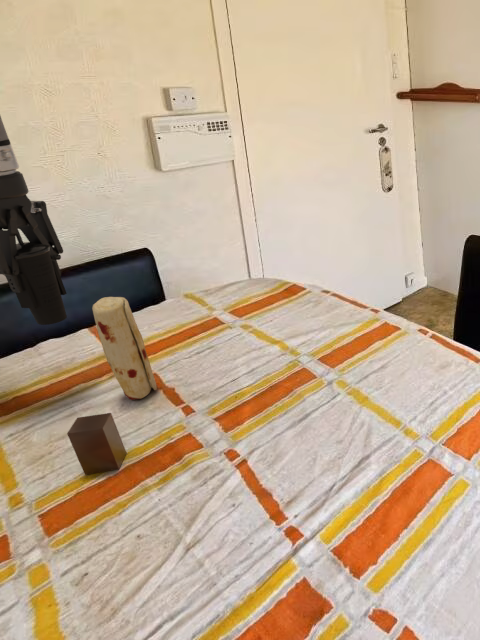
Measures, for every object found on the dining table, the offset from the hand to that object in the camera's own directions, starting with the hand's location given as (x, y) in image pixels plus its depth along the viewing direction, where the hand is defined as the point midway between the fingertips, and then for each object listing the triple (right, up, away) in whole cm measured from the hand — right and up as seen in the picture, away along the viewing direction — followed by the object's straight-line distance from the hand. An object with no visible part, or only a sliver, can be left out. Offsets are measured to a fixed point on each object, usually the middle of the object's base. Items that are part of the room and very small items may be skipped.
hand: (44, 300), depth 117 cm
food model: (+14, -18, +8) cm, 24 cm away
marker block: (+21, -29, -14) cm, 38 cm away
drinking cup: (0, -4, +2) cm, 4 cm away
